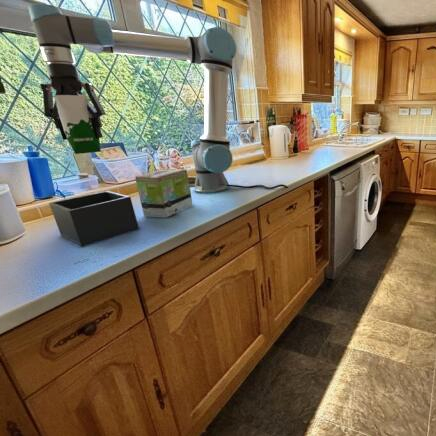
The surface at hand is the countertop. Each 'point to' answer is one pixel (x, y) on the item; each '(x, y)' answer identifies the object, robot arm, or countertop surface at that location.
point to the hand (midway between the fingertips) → (83, 138)
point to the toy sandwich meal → (191, 180)
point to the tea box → (164, 192)
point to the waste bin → (94, 217)
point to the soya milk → (77, 123)
